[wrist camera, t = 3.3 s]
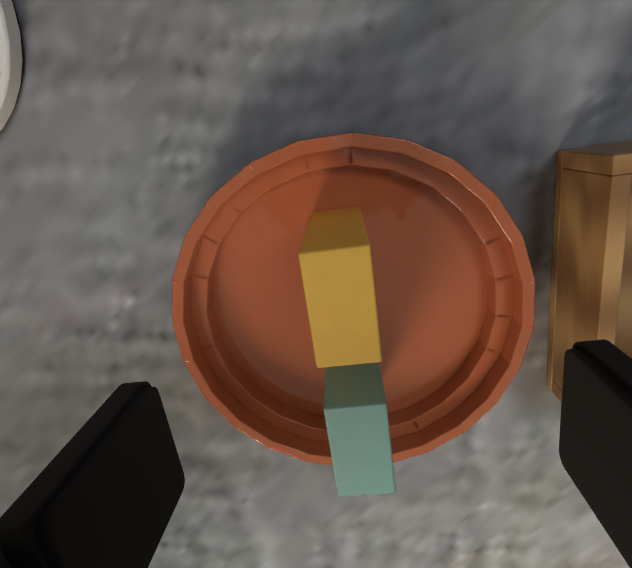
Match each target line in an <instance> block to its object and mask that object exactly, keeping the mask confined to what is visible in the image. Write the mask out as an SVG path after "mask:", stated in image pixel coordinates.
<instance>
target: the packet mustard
mask: <svg viewBox="0 0 632 568" xmlns="http://www.w3.org/2000/svg"><path fill="white" fill-rule="evenodd" d="M298 256H299V262H300V269H301V275H302V281H303V287H304V293H305V299H306V305H307V311H308V317H309V323H310V329H311V335H312V342H313V348H314V354H315V360H316V366H317V367H318V368H323V367H333V366H343V365H353V364H363V363H373V362H381V361H382V353H381V343H380V333H379V324H378V314H377V305H376V295H375V285H374V276H373V266H372V256H371V247H370V243H369V239H368V236H367V232H366V228H365V225H364V221H363V217H362V214H361V210H360V207H359V206H355V207H347V208H340V209H332V210H325V211H318V212H313V213H312V216H311V219H310V222H309V224H308V227H307V230H306V233H305V236H304V239H303V242H302V245H301V248H300V251H299V255H298Z"/></svg>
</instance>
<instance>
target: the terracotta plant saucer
mask: <svg viewBox="0 0 632 568" xmlns="http://www.w3.org/2000/svg"><path fill="white" fill-rule="evenodd" d="M355 206H359V207H360V210H361V214H362V217H363V221H364V225H365V228H366V232H367V236H368V239H369V243H370V247H371V256H372V266H373V276H374V285H375V295H376V305H377V314H378V324H379V333H380V343H381V353H382V361H381V362H380V368H381V373H382V379H383V385H384V390H385V396H386V402H387V410H388V420H389V430H390V439H391V449H392V458H393V462H396V461H400V460H403V459H407V458H410V457H413V456H417V455H420V454H424V453H427V452H429V451H431V450H433V449H435V448H437V447H438V446H440V445H442V444H444V443H446V442H448V441H449V440H451V439H453V438H455V437H457V436H458V435H460V434H462V433H464V431H467V430H468V429H469V428H470V427H471V426H472V425H473V424H474V423H475V422H477V421H478V420H479V419H480V418H481V417H482V416H483V415H484V414H485V413H486V412H488V411H489V410H490V409H491V408H492V407H493V406H494V405H495V404H496V403H497V402H498V401H499V399H500V398H501V396H502V395H503V393H504V392H505V390H506V389H507V387H508V386H509V384H510V383H511V381H512V380H513V378H514V377H515V375H516V374H517V372H518V371H519V369H520V367H521V364H522V361H523V358H524V355H525V352H526V349H527V346H528V343H529V340H530V337H531V334H532V331H533V326H534V306H535V278H534V274H533V270H532V267H531V263H530V260H529V256H528V252H527V249H526V245H525V241H524V238H523V235H522V233H521V232H520V230H519V229H518V227H517V226H516V224H515V223H514V221H513V219H512V218H511V216H510V215H509V213H508V212H507V210H506V209H505V207H504V206H503V204H502V202H501V201H500V199H499V198H498V196H497V195H495V193H494V192H493V191H492V190H490V189H489V188H488V187H487V186H486V185H485V184H483V183H482V182H481V181H480V180H479V179H477V178H476V177H475V176H474V175H473V174H471V173H470V172H469V171H468V170H467V169H465V168H464V167H463V166H462V165H461V164H460V163H458V162H456V161H455V160H453V159H451V158H449V157H446V156H444V155H442V154H439V153H437V152H435V151H432V150H430V149H428V148H426V147H423V146H421V145H419V144H416V143H414V142H412V141H409V140H406V139H400V138H392V137H384V136H376V135H368V134H360V133H344V134H337V135H331V136H324V137H318V138H311V139H305V140H299V141H296V142H294V143H292V144H290V145H287V146H285V147H283V148H281V149H279V150H276V151H274V152H272V153H270V154H268V155H265V156H263V157H261V158H259V159H257V160H255V161H252V162H250V163H249V164H248V165H246V166H245V167H244V168H243V169H242V170H241V171H239V172H238V173H237V174H236V175H235V176H234V177H232V178H231V179H230V180H229V181H228V182H227V183H225V184H224V185H223V186H222V187H221V188H220V189H218V190H217V191H216V192H215V193H214V194H213V195H212V196H211V197H210V198H209V200H208V201H207V203H206V204H205V206H204V207H203V209H202V210H201V212H200V214H199V215H198V217H197V218H196V220H195V221H194V223H193V224H192V226H191V227H190V229H189V231H188V232H187V234H186V236H185V238H184V241H183V245H182V248H181V252H180V255H179V259H178V262H177V265H176V269H175V272H174V276H173V280H172V321H173V326H174V330H175V333H176V337H177V340H178V344H179V347H180V351H181V354H182V358H183V361H184V363H185V365H186V367H187V369H188V370H189V372H190V374H191V375H192V377H193V379H194V380H195V382H196V384H197V385H198V387H199V389H200V390H201V392H202V394H203V395H204V397H205V398H206V399H207V400H208V401H209V402H210V403H211V404H212V405H213V406H214V407H215V408H216V409H217V410H218V411H219V412H220V413H221V414H222V415H223V416H224V417H225V418H226V419H227V420H228V421H229V422H230V423H231V424H232V425H233V426H234V427H235V428H237V429H238V430H240V431H241V432H243V433H245V434H246V435H248V436H249V437H251V438H253V439H254V440H256V441H257V442H259V443H261V444H262V445H264V446H265V447H267V448H269V449H272V450H275V451H278V452H281V453H283V454H286V455H289V456H292V457H295V458H298V459H300V460H303V461H306V462H312V463H319V464H327V465H333V464H332V458H331V451H330V445H329V439H328V433H327V427H326V421H325V415H324V392H325V375H326V367H323V368H318V367H317V366H316V360H315V354H314V348H313V342H312V335H311V329H310V323H309V317H308V311H307V305H306V299H305V293H304V287H303V281H302V275H301V269H300V262H299V256H298V255H299V251H300V248H301V245H302V242H303V239H304V236H305V233H306V230H307V227H308V224H309V222H310V219H311V216H312V213H313V212H318V211H325V210H332V209H340V208H347V207H355Z"/></svg>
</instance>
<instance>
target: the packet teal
mask: <svg viewBox="0 0 632 568" xmlns="http://www.w3.org/2000/svg"><path fill="white" fill-rule="evenodd" d="M324 415H325V421H326V427H327V433H328V439H329V445H330V451H331V458H332V464H333V470H334V476H335V482H336V488H337V494H338V496H339V497H343V496H358V495H373V494H387V493H395V492H396V487H395V478H394V468H393V458H392V449H391V439H390V430H389V420H388V410H387V402H386V396H385V390H384V385H383V379H382V373H381V368H380V362H373V363H363V364H353V365H343V366H333V367H326V375H325V392H324Z"/></svg>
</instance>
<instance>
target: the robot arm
mask: <svg viewBox="0 0 632 568" xmlns="http://www.w3.org/2000/svg"><path fill="white" fill-rule="evenodd" d="M22 61H23V60H22V49H21V37H20V30H19V26H18V22H17V18H16V14H15V10H14V6H13V3H12V0H0V131H1V130H2V129H3V128H4V126H5V124H6V122H7V121H8V119H9V117H10V115H11V113H12V111H13V109H14V107H15V103H16V100H17V96H18V93H19V89H20V85H21V73H22ZM559 454H560V458H561V462H562V464H563V466H564V468H565V470H566V471H567V473H568V474H569V476H570V477H571V479H572V480H573V482H574V483H575V485H576V486H577V488H578V489H579V491H580V492H581V494H582V495H583V497H584V498H585V500H586V502H587V503H588V505H589V506H590V508H591V509H592V511H593V512H594V514H595V515H596V517H597V518H598V520H599V521H600V523H601V524H602V526H603V527H604V529H605V530H606V532H607V533H608V535H609V536H610V538H611V539H612V541H613V542H614V544H615V545H616V547H617V549H618V550H619V552H620V553H621V555H622V556H623V558H624V559H625V561H626V562H627V564H628V565H629V567H630V568H632V358H630V357H629V356H628V355H626V354H625V353H624V352H623V351H621V350H620V349H619V348H617V347H616V346H615V345H614V344H612V343H611V342H610V341H608V340H606V339H601V340H590V341H579V342H575V343H574V344H573V346H572V349H567V350H566V352H565V355H564V369H563V387H562V405H561V423H560V441H559ZM184 482H185V479H184V473H183V469H182V466H181V463H180V460H179V456H178V453H177V450H176V447H175V443H174V440H173V437H172V434H171V430H170V427H169V424H168V421H167V417H166V414H165V411H164V408H163V404H162V401H161V398H160V395H159V392H158V390H157V388H156V387H151V385H150V384H149V383H148V382H146V381H145V382H134V383H124V384H121V385H120V386H119V387H118V388H117V389H116V390H115V391H114V392H113V394H112V395H111V396H110V397H109V398H108V399H107V400H106V401H105V402H104V403H103V405H102V406H101V407H100V408H99V409H98V410H97V411H96V412H95V413H94V415H93V416H92V417H91V418H90V419H89V420H88V421H87V422H86V423H85V425H84V426H83V427H82V428H81V429H80V430H79V431H78V432H77V433H76V435H75V436H74V437H73V438H72V439H71V440H70V441H69V442H68V443H67V444H66V446H65V447H64V448H63V449H62V450H61V451H60V452H59V453H58V454H57V456H56V457H55V458H54V459H53V460H52V461H51V462H50V463H49V464H48V466H47V467H46V468H45V469H44V470H43V471H42V472H41V473H40V474H39V475H38V477H37V478H36V479H35V480H34V481H33V482H32V483H31V484H30V485H29V487H28V488H27V489H26V490H25V491H24V492H23V493H22V494H21V495H20V497H19V498H18V499H17V500H16V501H15V502H14V503H13V504H12V505H11V507H10V508H9V509H8V510H7V511H6V512H5V513H4V514H3V515H2V516H1V518H0V568H148V566H149V564H150V562H151V559H152V557H153V555H154V553H155V551H156V549H157V546H158V544H159V542H160V540H161V538H162V535H163V533H164V531H165V529H166V527H167V524H168V522H169V520H170V518H171V516H172V514H173V511H174V509H175V507H176V505H177V503H178V500H179V498H180V496H181V494H182V491H183V489H184Z"/></svg>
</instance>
